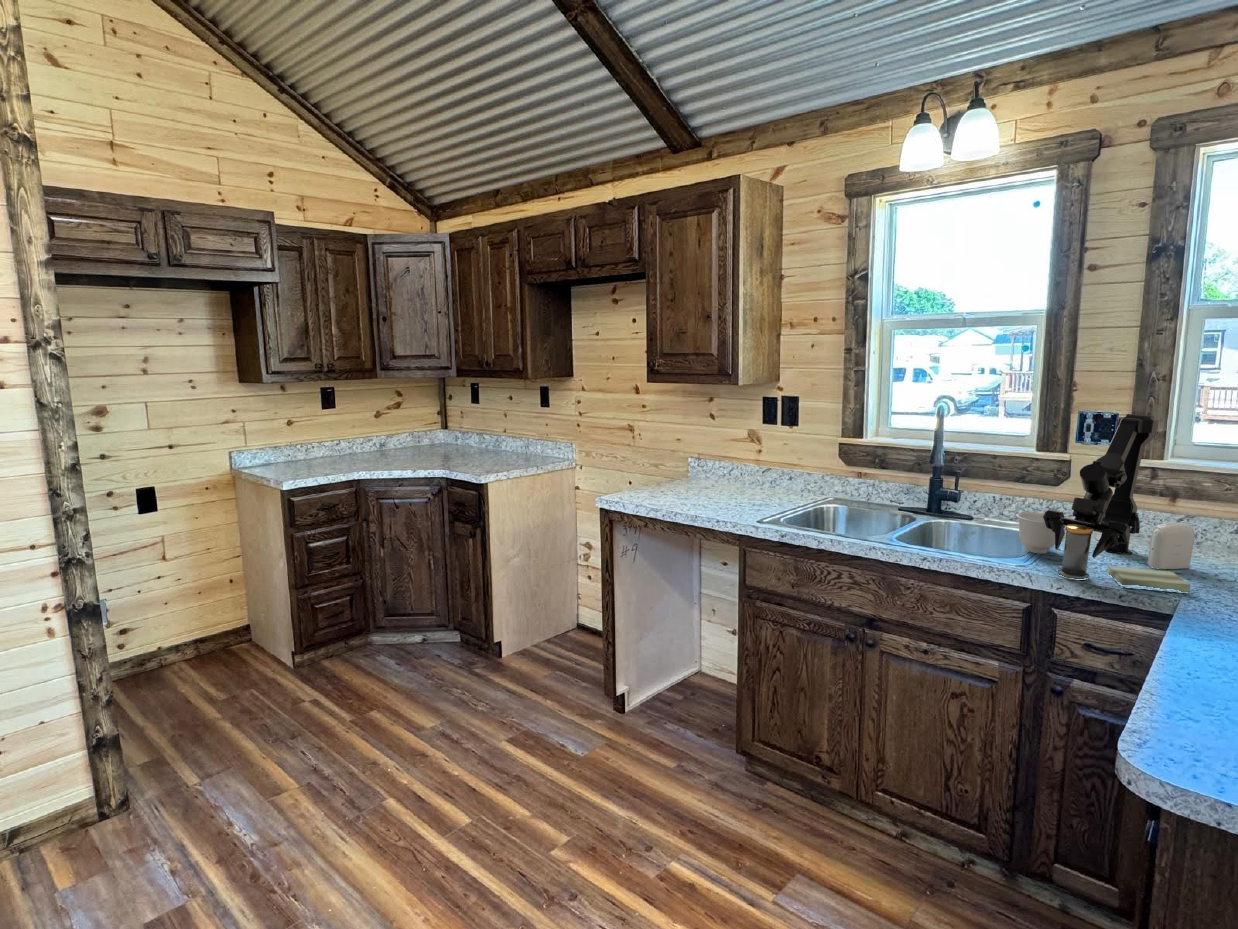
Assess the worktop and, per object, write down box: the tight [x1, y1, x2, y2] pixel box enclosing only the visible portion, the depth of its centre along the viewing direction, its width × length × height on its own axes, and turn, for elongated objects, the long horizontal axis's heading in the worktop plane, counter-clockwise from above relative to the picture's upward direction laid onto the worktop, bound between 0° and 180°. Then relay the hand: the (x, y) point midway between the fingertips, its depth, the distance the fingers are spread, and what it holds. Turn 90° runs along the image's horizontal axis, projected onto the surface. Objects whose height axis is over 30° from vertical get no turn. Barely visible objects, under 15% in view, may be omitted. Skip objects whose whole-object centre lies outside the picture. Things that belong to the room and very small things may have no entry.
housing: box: [1057, 524, 1094, 579], centre depth 185 cm, size 7×7×13 cm
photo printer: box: [1146, 522, 1196, 570], centre depth 193 cm, size 10×4×12 cm, turn 96°
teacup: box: [1015, 511, 1055, 554], centre depth 208 cm, size 12×15×10 cm
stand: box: [1107, 565, 1191, 592], centre depth 181 cm, size 10×14×2 cm
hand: (1074, 552), depth 185 cm, fingers open, 8 cm apart
